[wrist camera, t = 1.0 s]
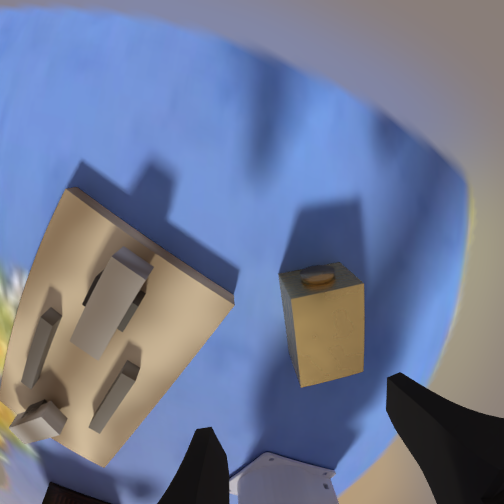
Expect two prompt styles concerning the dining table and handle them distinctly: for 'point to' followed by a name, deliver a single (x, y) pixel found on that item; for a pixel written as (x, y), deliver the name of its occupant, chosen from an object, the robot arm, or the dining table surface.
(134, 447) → the dining table surface
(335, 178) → the dining table surface
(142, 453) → the dining table surface
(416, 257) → the dining table surface
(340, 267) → the block
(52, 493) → the brown manual coffee grinder
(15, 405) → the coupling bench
